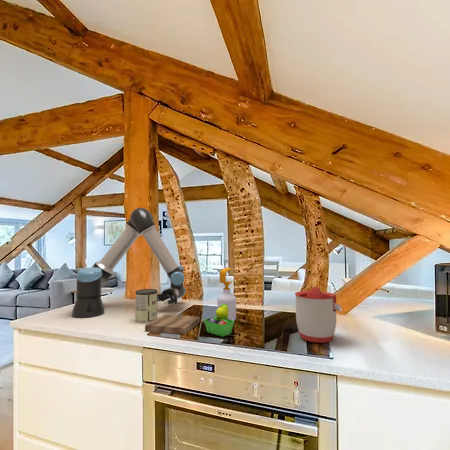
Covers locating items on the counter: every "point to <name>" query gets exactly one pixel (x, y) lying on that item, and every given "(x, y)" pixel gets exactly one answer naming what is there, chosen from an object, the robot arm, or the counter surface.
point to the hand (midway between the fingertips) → (151, 303)
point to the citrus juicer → (316, 315)
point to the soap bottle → (227, 296)
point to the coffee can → (146, 305)
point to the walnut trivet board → (172, 324)
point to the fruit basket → (220, 322)
